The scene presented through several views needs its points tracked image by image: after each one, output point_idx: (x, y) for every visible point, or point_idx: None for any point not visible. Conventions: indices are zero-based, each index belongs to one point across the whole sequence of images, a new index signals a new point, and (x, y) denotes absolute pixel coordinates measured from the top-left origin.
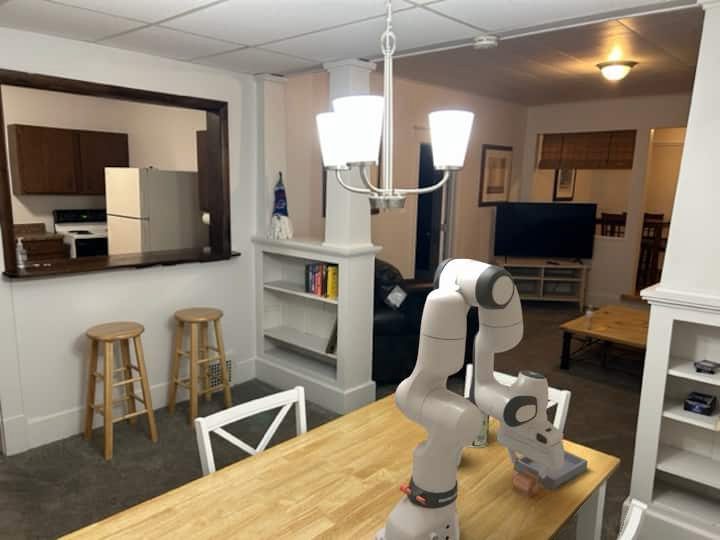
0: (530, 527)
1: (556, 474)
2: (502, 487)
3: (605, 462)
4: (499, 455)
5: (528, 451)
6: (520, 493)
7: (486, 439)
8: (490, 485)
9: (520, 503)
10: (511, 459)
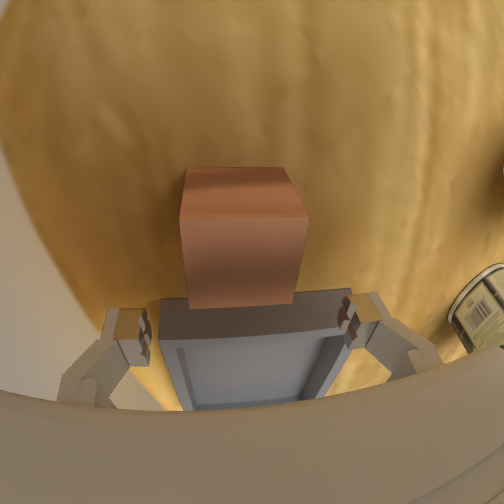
0: (32, 13)
1: (216, 360)
2: (333, 151)
3: None
4: (413, 305)
5: (243, 483)
6: (230, 171)
7: (460, 321)
8: (383, 122)
9: (180, 106)
10: (380, 307)
